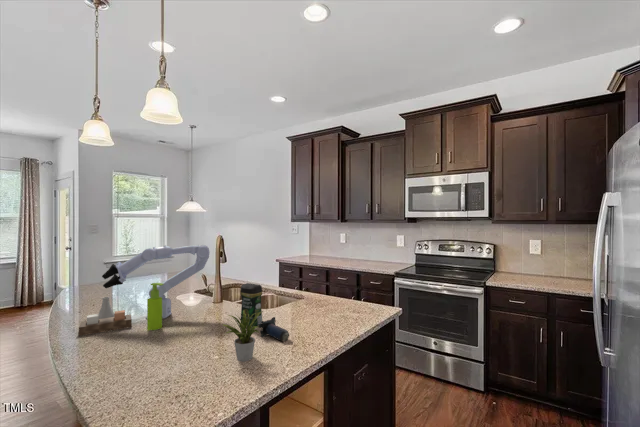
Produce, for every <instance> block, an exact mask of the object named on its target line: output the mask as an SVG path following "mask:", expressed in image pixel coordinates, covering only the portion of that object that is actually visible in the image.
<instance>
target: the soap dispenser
mask: <svg viewBox="0 0 640 427" xmlns="http://www.w3.org/2000/svg"><path fill="white" fill-rule="evenodd" d="M157 285H159V286H161V285H164V284H162V282H152V283H150V286H152V287H153V290H152V291H151V298H150V297H148V298H147V299H146V303H147V306H146V308H147V310H146V311H147V314H146V317H147V319H146V320H147V322H146V324H147V326H146V327H147V328H146V330H148V331H157V330H160V329H162V328H163V318H162V297H159V290H157Z"/></svg>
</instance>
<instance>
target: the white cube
mask: <svg viewBox="0 0 640 427" xmlns="http://www.w3.org/2000/svg"><path fill="white" fill-rule="evenodd" d="M86 321H87V325H90V324H96V323H99V313H95V314H87V316H86Z"/></svg>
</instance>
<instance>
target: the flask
mask: <svg viewBox="0 0 640 427" xmlns="http://www.w3.org/2000/svg"><path fill="white" fill-rule="evenodd" d="M110 298H111V297H110V296H103V297H101V300H102V303H101V307H100V309H99V312H98V314H99V319H102V318H109V317H114V313H115V311H114V310H113V308H112V306H111V303H110Z"/></svg>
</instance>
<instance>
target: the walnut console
mask: <svg viewBox="0 0 640 427" xmlns="http://www.w3.org/2000/svg"><path fill="white" fill-rule="evenodd" d="M132 320H133V319H132V314H131V313H130V314H125V319H123V320H116V321H114V317H109V318H102V319H99V323H96V324H90V325H87V320H83V321H80V323H79V326H78V337H80V336H85V335H91V334H98V333H104V332H106V333H107V332H110V331H111V330H112V331H116V330H117V329H118V330H123V329H129V328H130V329H131V328H132V326H133V324H132V323H133V322H132Z"/></svg>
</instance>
